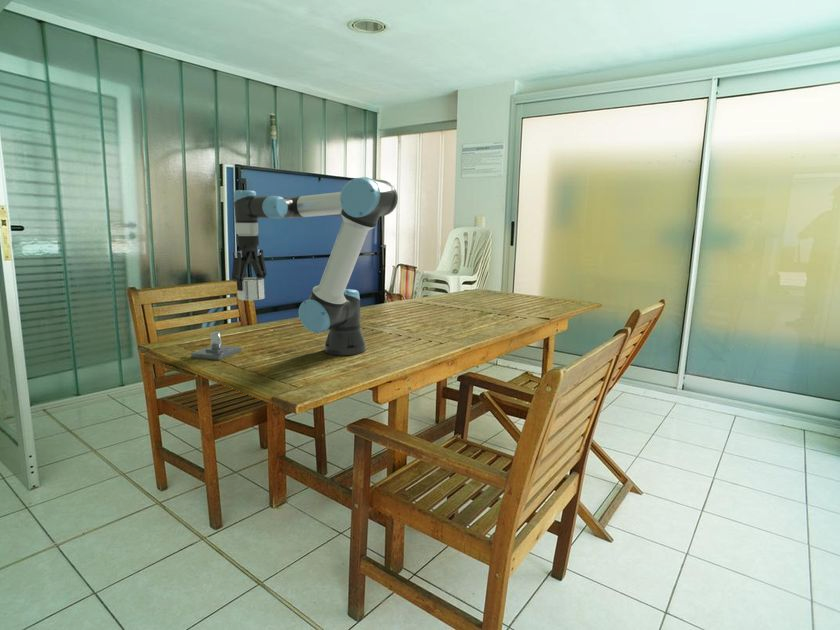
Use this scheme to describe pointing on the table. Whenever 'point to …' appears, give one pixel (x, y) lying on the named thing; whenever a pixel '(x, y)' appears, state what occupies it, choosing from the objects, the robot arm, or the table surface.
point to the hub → (254, 288)
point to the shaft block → (216, 349)
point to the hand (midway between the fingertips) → (251, 297)
